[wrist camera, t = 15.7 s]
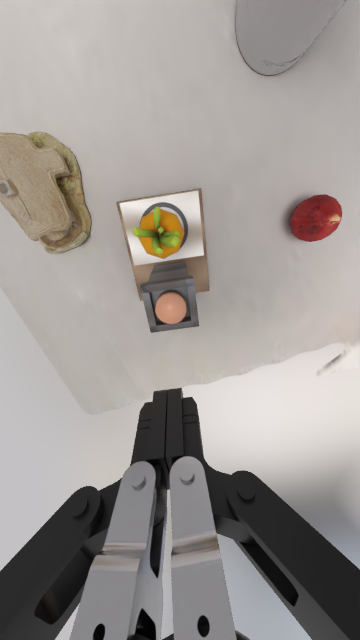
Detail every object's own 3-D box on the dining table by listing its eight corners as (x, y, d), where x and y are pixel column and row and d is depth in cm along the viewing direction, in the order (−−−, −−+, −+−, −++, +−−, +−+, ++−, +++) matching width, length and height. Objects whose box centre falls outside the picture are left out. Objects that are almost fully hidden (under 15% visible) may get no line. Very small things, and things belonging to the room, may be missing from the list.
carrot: (140, 231, 31) (116, 242, 17) (161, 202, 29) (152, 189, 16) (166, 254, 32) (162, 280, 19) (188, 227, 31) (200, 235, 17)
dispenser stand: (118, 202, 31) (82, 193, 19) (199, 189, 30) (217, 171, 18) (141, 298, 37) (125, 336, 25) (208, 288, 37) (225, 323, 25)
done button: (153, 292, 24) (152, 297, 22) (183, 288, 24) (184, 293, 22) (159, 318, 25) (158, 325, 24) (187, 315, 25) (188, 321, 24)
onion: (286, 245, 34) (317, 253, 27) (276, 210, 32) (306, 208, 24) (322, 227, 33) (364, 230, 26) (315, 189, 31) (358, 180, 23)
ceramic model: (-14, 155, 28) (-103, 126, 19) (60, 122, 27) (3, 73, 18) (47, 258, 34) (2, 273, 25) (110, 235, 33) (86, 241, 24)
